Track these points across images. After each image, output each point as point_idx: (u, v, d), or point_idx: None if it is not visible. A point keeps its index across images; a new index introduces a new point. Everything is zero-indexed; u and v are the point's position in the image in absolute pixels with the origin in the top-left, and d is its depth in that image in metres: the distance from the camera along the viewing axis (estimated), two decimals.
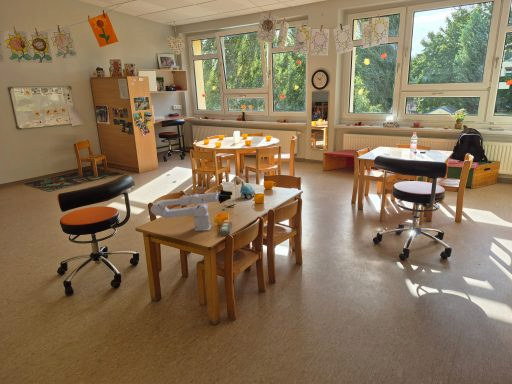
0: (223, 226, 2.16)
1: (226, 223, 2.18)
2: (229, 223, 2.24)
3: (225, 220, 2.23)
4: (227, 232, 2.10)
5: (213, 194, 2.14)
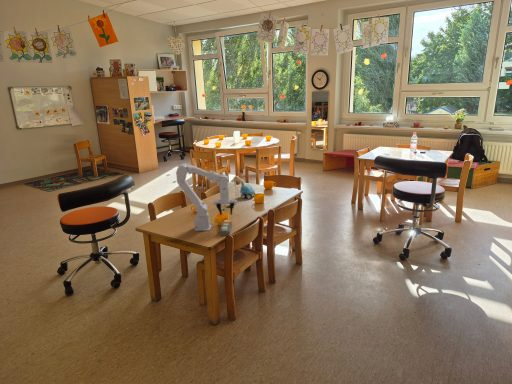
0: (223, 226, 2.16)
1: (226, 223, 2.18)
2: (229, 223, 2.24)
3: (225, 220, 2.23)
4: (227, 232, 2.10)
5: None
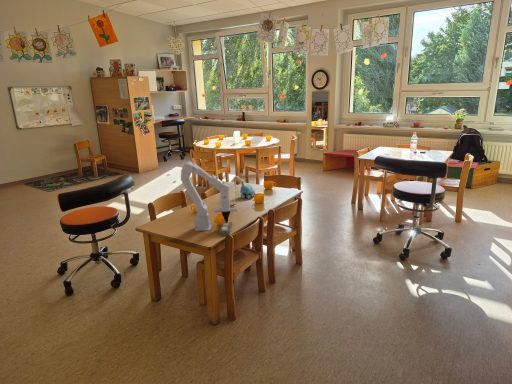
0: (223, 226, 2.16)
1: (226, 223, 2.18)
2: None
3: None
4: (227, 232, 2.10)
5: None
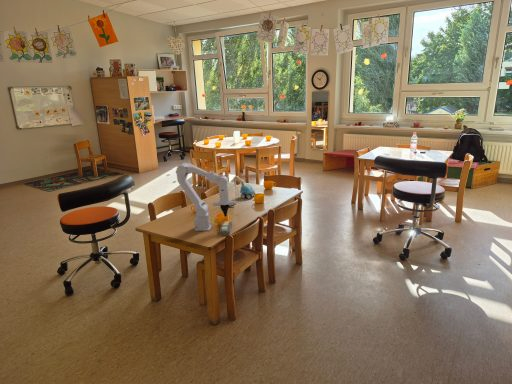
0: (223, 226, 2.16)
1: (226, 223, 2.18)
2: None
3: (226, 221, 2.23)
4: (227, 232, 2.10)
5: None
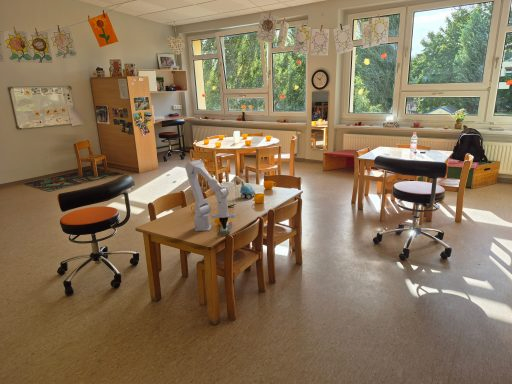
0: None
1: None
2: None
3: None
4: (227, 232, 2.10)
5: None
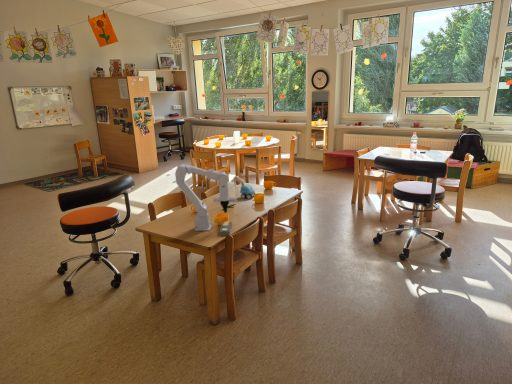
0: (223, 226, 2.16)
1: (226, 223, 2.18)
2: None
3: (226, 221, 2.23)
4: (227, 232, 2.10)
5: None
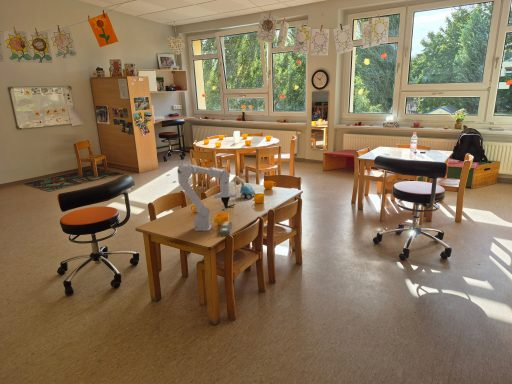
0: (223, 226, 2.16)
1: (226, 223, 2.18)
2: None
3: (226, 221, 2.23)
4: (227, 232, 2.10)
5: None
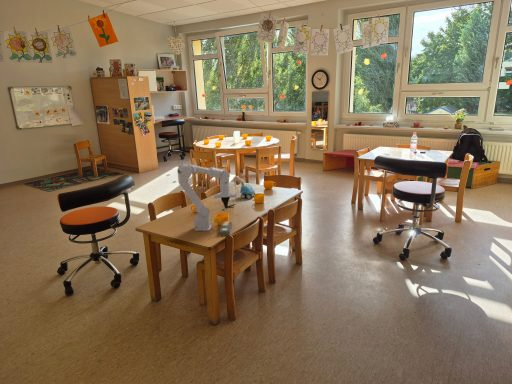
0: (223, 226, 2.16)
1: (226, 223, 2.18)
2: None
3: (226, 221, 2.23)
4: (227, 232, 2.10)
5: None
